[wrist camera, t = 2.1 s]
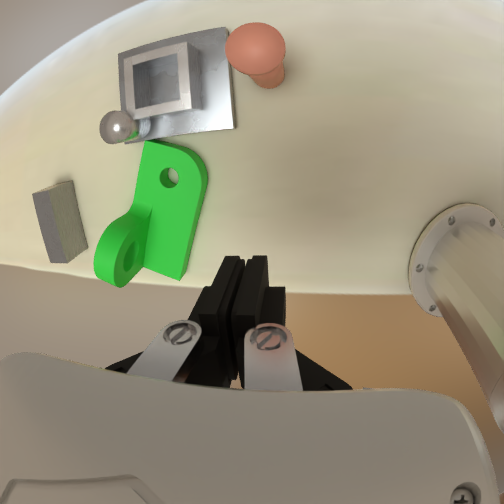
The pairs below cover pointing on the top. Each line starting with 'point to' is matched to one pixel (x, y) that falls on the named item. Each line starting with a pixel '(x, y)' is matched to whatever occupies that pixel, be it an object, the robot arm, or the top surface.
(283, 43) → the peach peg
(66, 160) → the top surface
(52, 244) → the block
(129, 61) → the metal square socket base
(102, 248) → the mechanical part
